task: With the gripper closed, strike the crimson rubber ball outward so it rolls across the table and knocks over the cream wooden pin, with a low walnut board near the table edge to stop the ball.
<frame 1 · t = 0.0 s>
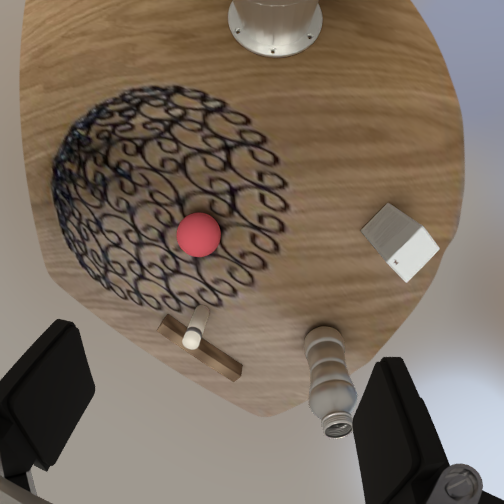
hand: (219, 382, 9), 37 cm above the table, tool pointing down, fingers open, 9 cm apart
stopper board: (202, 344, 54), on the table
plastic bottle: (322, 336, 52), on the table
pin: (202, 311, 51), on the table
skincare box: (382, 224, 44), on the table
ball: (198, 234, 43), on the table
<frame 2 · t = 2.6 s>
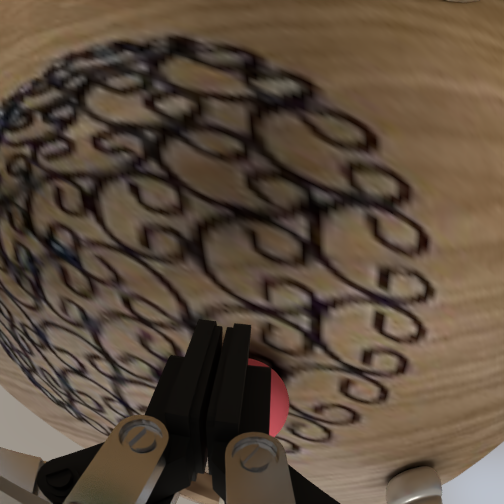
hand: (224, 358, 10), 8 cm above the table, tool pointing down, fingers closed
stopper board: (235, 488, 29), on the table
plastic bottle: (409, 471, 27), on the table
ball: (240, 403, 18), on the table
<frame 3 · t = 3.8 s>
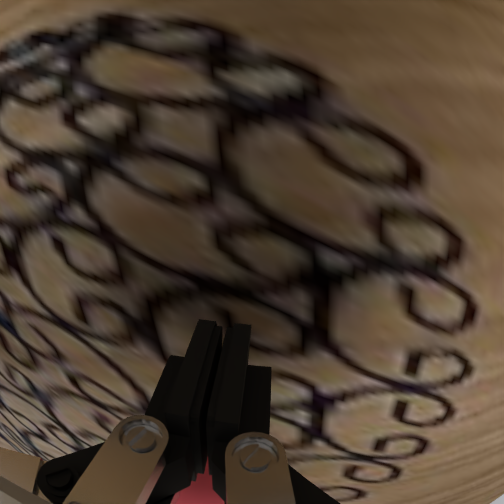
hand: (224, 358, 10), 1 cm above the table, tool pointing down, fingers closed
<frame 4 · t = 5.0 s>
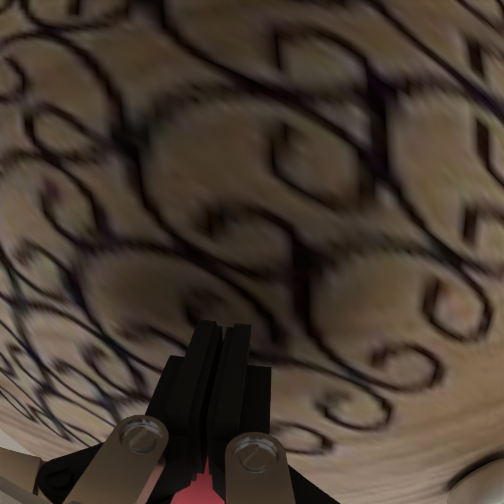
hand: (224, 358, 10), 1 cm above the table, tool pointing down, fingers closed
plastic bottle: (475, 471, 16), on the table
ball: (212, 496, 11), on the table
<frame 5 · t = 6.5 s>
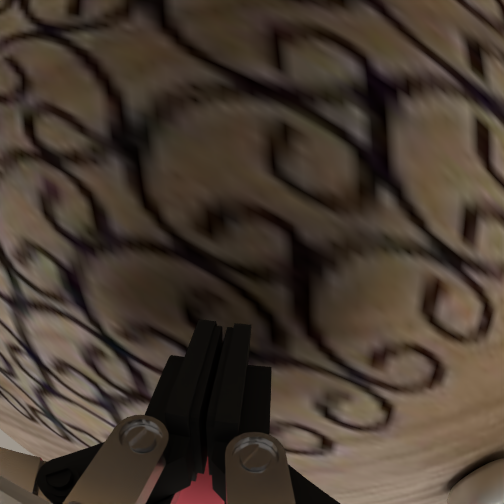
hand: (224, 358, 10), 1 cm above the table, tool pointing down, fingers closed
plastic bottle: (475, 471, 16), on the table
ball: (212, 496, 11), on the table
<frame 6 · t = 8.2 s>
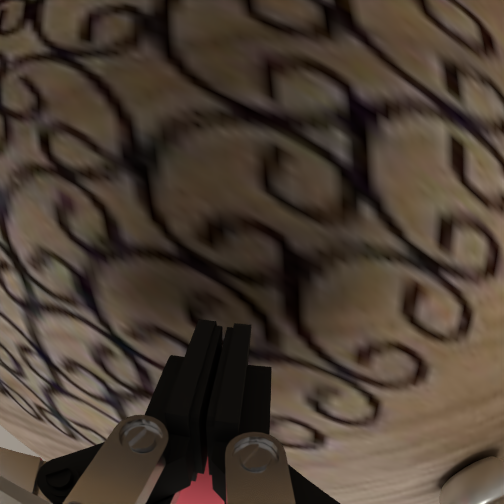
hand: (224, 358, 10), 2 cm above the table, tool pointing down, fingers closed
plastic bottle: (467, 468, 17), on the table
ball: (211, 487, 13), on the table
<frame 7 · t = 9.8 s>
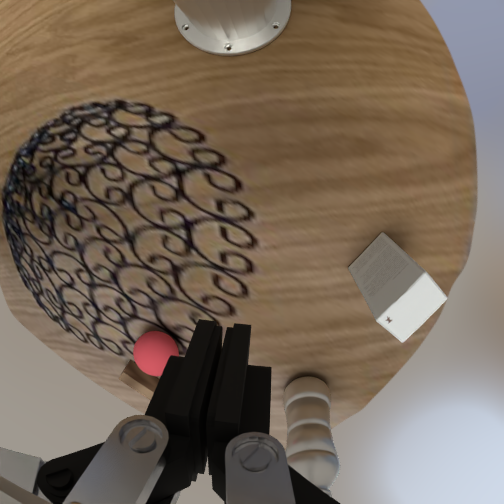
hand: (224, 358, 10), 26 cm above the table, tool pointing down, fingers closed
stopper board: (171, 391, 45), on the table
plastic bottle: (305, 385, 43), on the table
skincare box: (376, 259, 36), on the table
ball: (156, 353, 39), on the table
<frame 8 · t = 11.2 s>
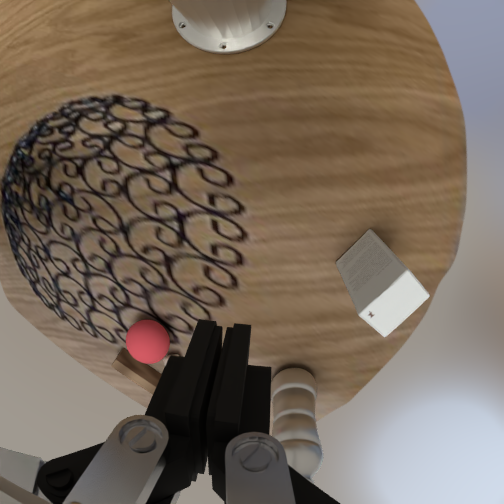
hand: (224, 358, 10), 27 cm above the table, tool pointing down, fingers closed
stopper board: (162, 379, 47), on the table
plastic bottle: (292, 376, 45), on the table
skincare box: (363, 255, 37), on the table
ball: (147, 341, 40), on the table
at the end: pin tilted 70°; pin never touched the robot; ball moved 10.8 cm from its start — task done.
